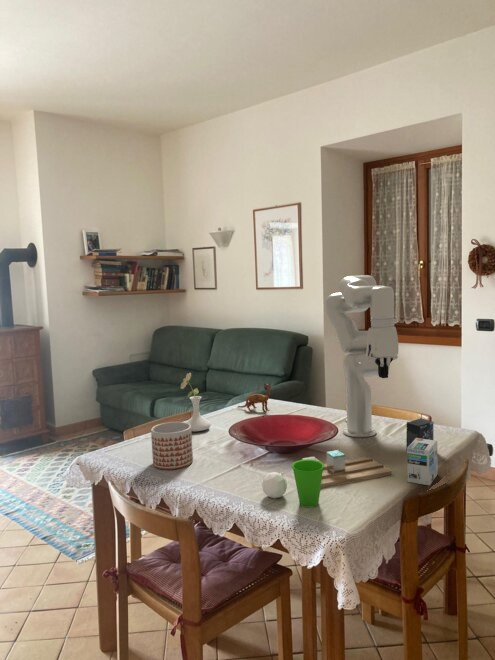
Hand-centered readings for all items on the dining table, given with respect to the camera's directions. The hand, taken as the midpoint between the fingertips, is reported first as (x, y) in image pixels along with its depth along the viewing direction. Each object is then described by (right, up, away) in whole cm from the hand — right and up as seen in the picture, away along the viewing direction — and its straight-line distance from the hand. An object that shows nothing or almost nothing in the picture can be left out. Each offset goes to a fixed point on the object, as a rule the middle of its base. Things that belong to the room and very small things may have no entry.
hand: (383, 377), depth 177 cm
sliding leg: (-18, -28, -13) cm, 36 cm away
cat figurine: (-43, -22, +69) cm, 84 cm away
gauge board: (-16, -29, -12) cm, 35 cm away
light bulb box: (+7, -29, -18) cm, 35 cm away
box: (+14, -26, +5) cm, 30 cm away
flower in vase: (-68, -26, +41) cm, 83 cm away
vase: (-72, -30, +4) cm, 78 cm away
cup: (-29, -32, -32) cm, 54 cm away
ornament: (-38, -32, -27) cm, 57 cm away
